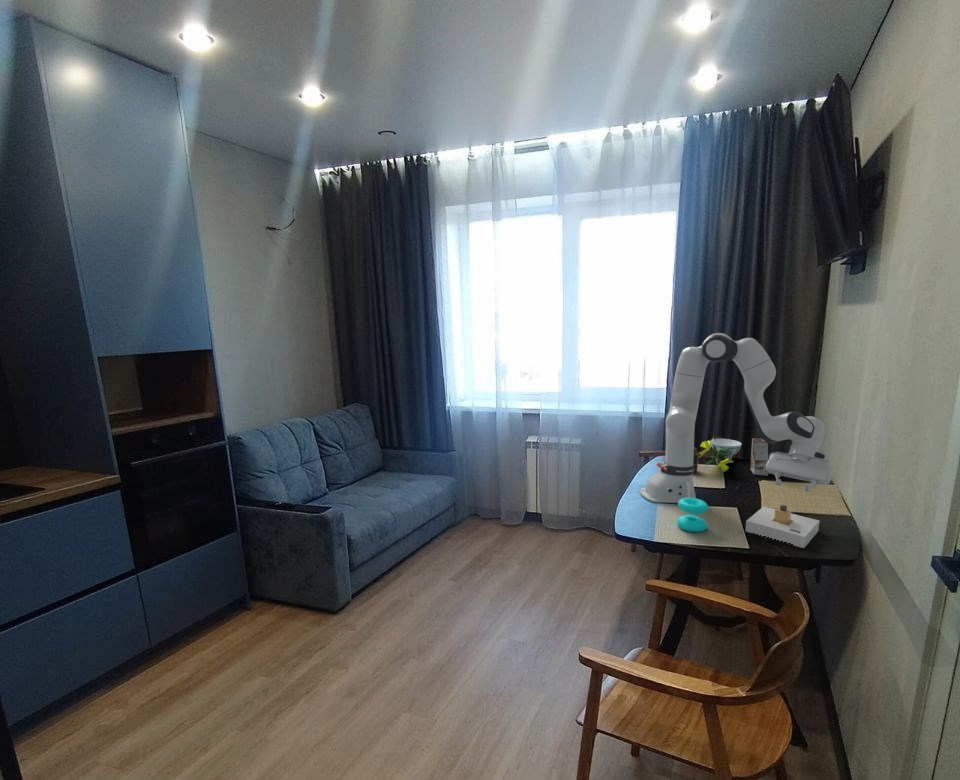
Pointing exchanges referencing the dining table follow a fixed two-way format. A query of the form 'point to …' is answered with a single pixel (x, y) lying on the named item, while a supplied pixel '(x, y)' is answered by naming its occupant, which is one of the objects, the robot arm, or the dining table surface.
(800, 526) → the socket block
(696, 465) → the supplement bottle
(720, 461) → the daffodil flowers
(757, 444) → the coffee box
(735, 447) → the chinaware
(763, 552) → the dining table surface
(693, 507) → the donuts
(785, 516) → the tan rectangular block
